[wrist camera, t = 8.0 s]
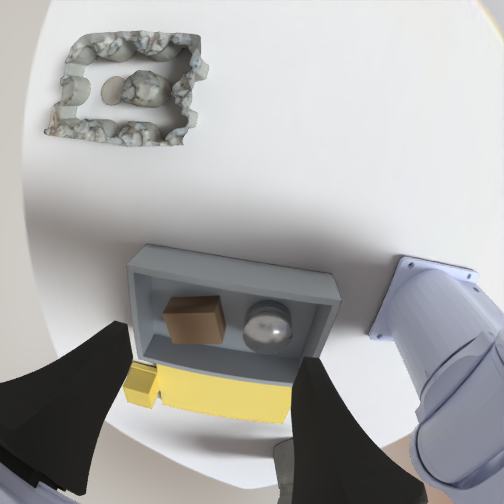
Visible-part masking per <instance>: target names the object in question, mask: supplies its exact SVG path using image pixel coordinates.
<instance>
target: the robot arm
mask: <svg viewBox="0 0 504 504" xmlns="http://www.w3.org/2000/svg"><path fill="white" fill-rule="evenodd" d="M411 262H412V264H411V265H410V266H408V265H409V263H411ZM478 278H479V273H478V272H476V271H473V270H469V269H464V268H459V267H455V266H450V265H445V264H440V263H436V262H431V261H426V260H421V259H416V258H411V257H403V258H401V259H400V261H399V263H398V266H397V269H396V271H395V274H394V277H393V279H392V282H391V284H390V287H389V289H388V292H387V294H386V296H385V299H384V301H383V304H382V306H381V308H380V310H379V313H378V315H377V317H376V319H375V321H374V324H373V326H372V328H371V330H370V332H369V338H370V339H371V340H381V341H395V344H396V346H397V348H398V350H399V352H400V354H401V357H402V359H403V361H404V363H405V366H406V368H407V370H408V373H409V375H410V377H411V380H412V382H413V384H414V387H415V389H416V392H417V394H418V397H419V399H420V402H421V404H420V406H419V407H418V408H417V409H416V411H415V413H416V416H417V419H418V422H419V424H418V425H417V426H416V427H415V429H414V431H413V432H412V435H411V438H410V443H409V451H410V457H411V461H412V464H413V467H414V468H415V470H416V472H417V474H418V475H419V476H420V478H421V479H422V480H423V481H424V482H426V483H427V484H428V485H430V486H432V487H434V488H437V489H439V490H441V491H443V492H444V493H445V494H447V495H448V496H449V497H450V499H451V500H452V501H453V502H454V504H504V313H503V312H502V311H501V310H500V308H499V307H498V306H497V305H496V304H495V303H494V302H493V301H492V300H491V299H490V298H489V297H488V296H487V295H486V294H485V293H484V292H483V291H482V289H481V288H480V287H479V286H478V285H477V284H476V283H477V281H478ZM379 334H380V335H379ZM378 335H379V336H378ZM132 360H133V354H132V349H131V343H130V338H129V332H128V325H127V324H125V323H121V322H118V321H114V322H112V323H111V324H109V325H108V326H106V327H105V328H104V329H102V330H101V331H99V332H98V333H97V334H95V335H94V336H93V337H91V338H90V339H88V340H87V341H85V342H84V343H83V344H81V345H80V346H78V347H77V348H75V349H74V350H72V351H71V352H69V353H67V354H66V355H64V356H63V357H61V358H60V359H58V360H56V361H54V362H53V363H51V364H49V365H47V366H45V367H43V368H41V369H39V370H37V371H34V372H32V373H29V374H27V375H24V376H22V377H19V378H16V379H13V380H10V381H6V382H3V383H0V504H79V503H78V502H76V501H74V500H72V499H70V498H68V497H66V496H64V495H63V494H61V493H59V492H57V488H59V489H60V490H62V491H66V490H68V491H70V492H72V493H74V494H76V495H78V496H81V495H84V494H86V488H87V481H88V475H89V470H90V466H91V461H92V457H93V453H94V449H95V446H96V443H97V439H98V436H99V433H100V430H101V427H102V425H103V422H104V420H105V418H106V415H107V413H108V411H109V409H110V407H111V406H112V404H113V402H114V400H115V398H116V396H117V394H118V392H119V390H120V388H121V386H122V384H123V382H124V380H125V378H126V376H127V373H128V371H129V368H130V365H131V362H132ZM291 419H292V432H293V444H294V479H293V491H292V501H291V504H427V503H428V499H427V494H426V490H425V486H424V483H423V482H421V481H420V480H418V479H417V478H415V477H414V476H412V475H411V474H409V473H408V472H406V471H405V470H404V469H402V468H401V467H400V466H399V465H397V464H396V463H395V462H393V461H392V460H391V459H390V458H389V457H388V456H387V455H386V454H385V453H384V452H383V451H382V450H381V449H380V448H379V447H378V446H377V445H376V444H375V443H374V442H373V441H372V440H371V439H370V437H369V436H368V435H367V434H366V433H365V432H364V430H363V429H362V428H361V427H360V425H359V424H358V423H357V421H356V420H355V418H354V417H353V416H352V414H351V413H350V411H349V410H348V408H347V407H346V405H345V403H344V402H343V400H342V399H341V397H340V395H339V394H338V392H337V390H336V388H335V387H334V385H333V383H332V381H331V379H330V378H329V376H328V374H327V372H326V370H325V368H324V366H323V364H322V362H321V360H320V359H319V358H315V357H305V356H304V358H303V361H302V363H301V366H300V368H299V371H298V373H297V376H296V378H295V381H294V383H293V386H292V392H291Z"/></svg>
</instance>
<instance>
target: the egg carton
mask: <svg viewBox="0 0 504 504" xmlns="http://www.w3.org/2000/svg"><path fill="white" fill-rule="evenodd" d="M182 48H188V49H189V52H191V53H192V56H191V58H190V61H189V65H190V66H191V68H192V70H190V71H186V72H184V73H183V75H182V77H181V80H179V81H178V82H177V83H175V84H174V86H173V87H172V91H171V89H170V84H169V82H168V81H167V80H166V79H165V78H163V77H161V76H159V75H157V74H155V73H153V72H151V71H142V70H138V71H136V72H135V73H134V74H133V75H131V76H129V77H128V78H127V80H126V81H125V80H124V79H123V78H121V77H118V76H115V77H112V78H110V79H108V80H107V81H106V82H105V84H104V85H103V87H102V92H101V96H102V99H103V101H104V102H105V103H106V104H107V105H115V104H118V103H119V102H121V101H122V100H123V101H124V102H126V103H132V104H134V105H136V106H141V107H153V108H154V107H159V106H161V105H163V104H164V103H165V102H166V101H167V99H168V97H169V96H170V91H171V95H172V96H173V97H175V100H176V101H175V103H176V105H178V106H180V107H181V108H182V111H181V114H182V115H183V116H185V117H187V118H188V122H187V125H186V127H182V128H177V129H174V130H172V131H171V132H170V133H169V134H168V135H167V136H166V137H165V140H162V137H161V132H160V130H159V128H158V127H157V126H156V125H155V124H152V123H150V122H134V121H129V122H128V124H127V125H126V126H125V127H124V128H123V129H122V130H121V131H120V130H119V127H118V125H117V124H116V123H115V122H114V121H112V120H88V119H84V120H83V121H80V120H79V119H77V118H76V112H77V107H78V106H79V105H81V104H83V103H85V102H86V100H87V99H88V97H89V95H90V92H91V84H90V81H89V80H88V79H86V78H83V74H84V70H85V67H86V66H87V65H89V64H91V63H92V62H93V61H94V60H95V59H96V58H97V56H100V57H102V58H105V59H109V60H112V61H115V62H119V63H120V62H124V61H127V60H128V59H130V58H131V57H132V56H133V55H134V53H135V52H136V50H137V51H138V52H139V53H142V54H144V55H146V56H148V57H150V58H152V59H154V60H156V61H158V62H167V61H170V60H172V59H174V58H175V57H176V56H177V55H178V54H179V53H180V51H181V50H182ZM65 63H66V70H65V74H64V76H63V77H62V78H61V79H60V84H61V85H62V86H64V90H63V96H62V102H58V103H56V104H55V105H54V106H53V109H52V111H51V117H50V124H49V127H48V129H45V130H44V133H45V134H46V135H52V136H59V137H65V138H75V139H84V140H90V141H96V142H105V143H110V144H115V145H121V146H127V147H132V146H172V145H183V142H182V140H183V137H184V135H185V134H186V133H187V131H188V129H189V128H193V127H196V124H197V118H198V113H197V112H195V111H192V110H191V109H190V108H189V106H190V104H191V102H192V91H191V90H192V88H193V86H194V83H195V82H197V81H200V80H205V79H206V78H207V74H208V70H209V65H208V64H206V63H205V62H204V61H203V60H202V59H201V37H200V36H199V35H195V34H185V33H163V32H157V33H156V32H148V31H131V32H114V33H113V32H106V33H91V34H87V35H84V36H82V37H81V38H79V39H78V40H77V41H76V42H75V43H74V45H73V46H72V47H71V50H70V54H69V56H68V57H67V59H66V61H65Z"/></svg>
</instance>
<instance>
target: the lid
mask: <svg viewBox="0 0 504 504" xmlns="http://www.w3.org/2000/svg"><path fill="white" fill-rule="evenodd" d="M156 366H157V368H153V367H149V366H146V365H142V364H138V363H135V362H133V363H132V365H131V368H132V369H131V371H130V372H129V374H128V376H127V378H126V380H125V382H124V384H123V390H124V393H125V396H126V399H127V402H130V403H133V404H136V405H139V406H143V407H146V408H150V409H152V408H153V405H154V402H155V400H156V397H157V395H158V392H159V391H160V392H161V397H162V403H163V405H166V406H170V407H174V408H179V409H183V410H188V411H192V412H197V413H202V414H208V415H213V416H219V417H225V418H232V419H239V420H247V421H255V422H265V423H276V424H283V422H284V420H285V418H286V416H287V413H288V411H289V409H290V407H291V392H292V387H286V386H276V385H267V384H259V383H252V382H245V381H238V380H232V379H226V378H220V377H214V376H209V375H204V374H199V373H194V372H189V371H184V370H180V369H176V368H171V367H167V366H163V365H159V364H156Z"/></svg>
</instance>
